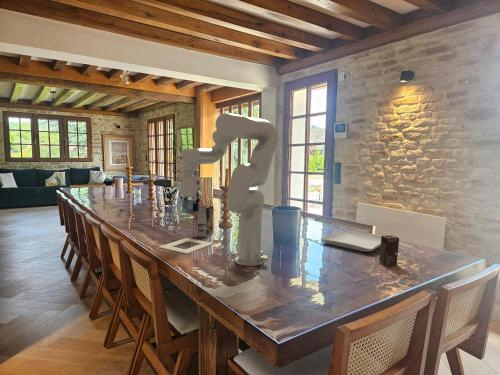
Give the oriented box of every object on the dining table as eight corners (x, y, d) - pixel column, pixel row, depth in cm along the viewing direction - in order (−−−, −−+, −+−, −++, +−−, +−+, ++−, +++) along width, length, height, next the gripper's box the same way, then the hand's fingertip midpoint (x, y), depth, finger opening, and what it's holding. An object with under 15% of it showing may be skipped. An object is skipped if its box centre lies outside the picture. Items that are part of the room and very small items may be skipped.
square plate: (392, 245, 171) (392, 237, 170) (370, 256, 151) (371, 248, 150) (344, 235, 189) (344, 229, 189) (319, 244, 169) (319, 237, 169)
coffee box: (208, 237, 179) (208, 208, 177) (197, 236, 180) (197, 207, 178) (213, 233, 187) (214, 205, 186) (203, 232, 189) (203, 205, 187)
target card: (213, 243, 166) (213, 243, 166) (186, 253, 149) (186, 253, 149) (186, 238, 175) (186, 237, 175) (158, 247, 158) (158, 246, 158)
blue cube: (199, 212, 163) (199, 200, 162) (191, 214, 158) (191, 201, 157) (190, 211, 166) (190, 199, 165) (181, 212, 161) (181, 200, 160)
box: (385, 266, 137) (387, 238, 136) (378, 262, 141) (380, 235, 140) (398, 265, 138) (399, 237, 137) (391, 262, 143) (392, 234, 141)
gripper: (209, 174, 158) (209, 211, 160) (182, 172, 167) (183, 207, 169) (198, 175, 152) (198, 213, 154) (172, 173, 161) (172, 209, 163)
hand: (190, 210), depth 161 cm, fingers closed on blue cube, 6 cm apart
